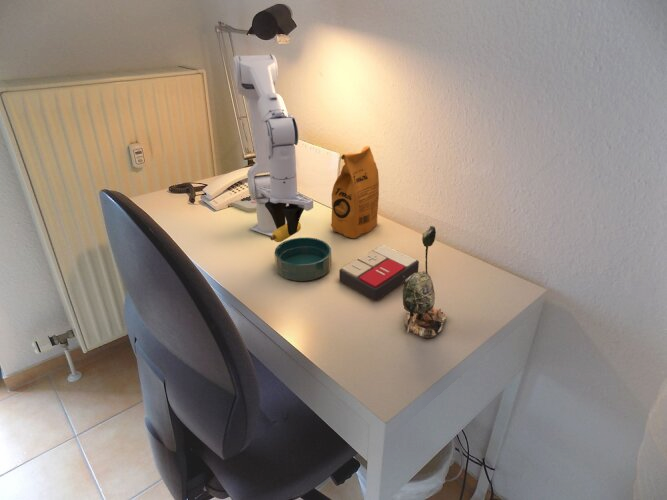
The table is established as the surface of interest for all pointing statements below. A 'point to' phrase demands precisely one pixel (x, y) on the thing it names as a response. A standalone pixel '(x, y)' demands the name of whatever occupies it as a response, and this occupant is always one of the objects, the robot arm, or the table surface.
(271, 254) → the table surface
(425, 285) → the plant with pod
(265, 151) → the robot arm
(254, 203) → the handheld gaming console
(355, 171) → the coffee package
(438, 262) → the table surface
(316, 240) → the teal bowl
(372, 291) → the calculator
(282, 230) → the amber tube
